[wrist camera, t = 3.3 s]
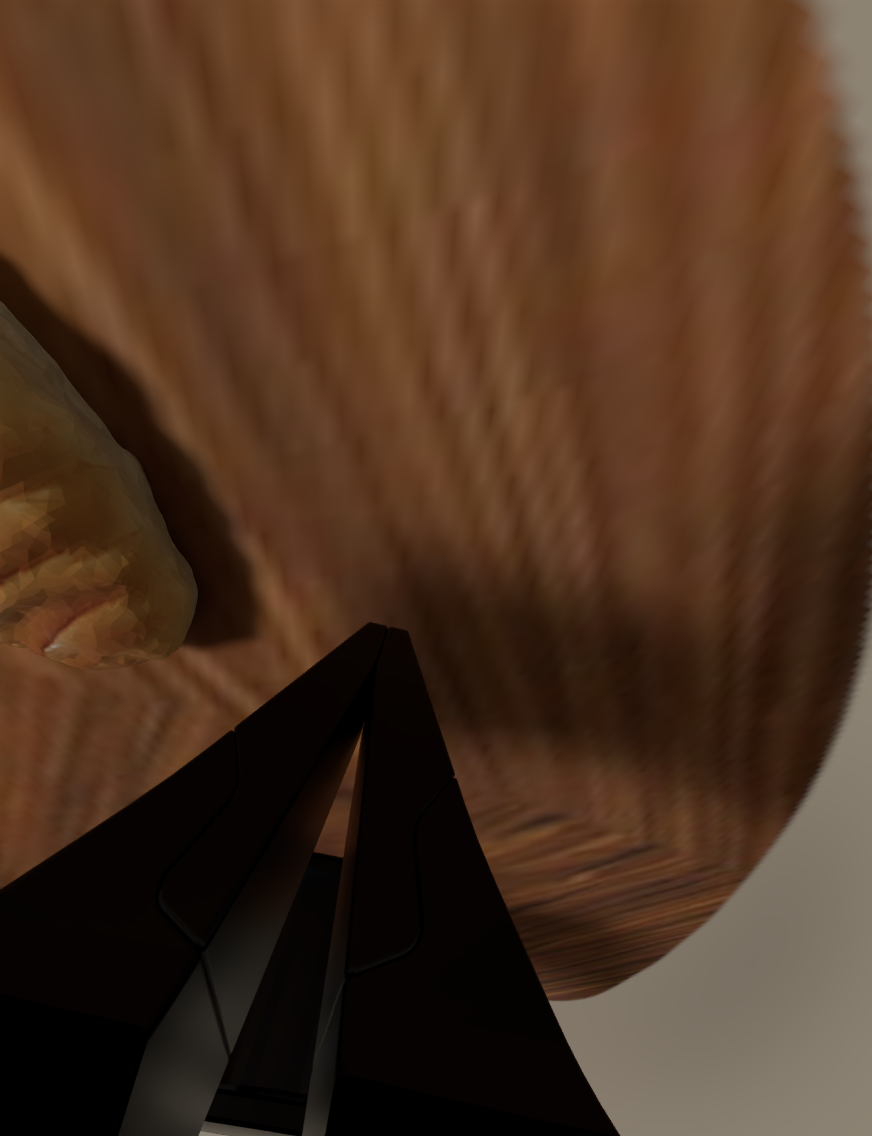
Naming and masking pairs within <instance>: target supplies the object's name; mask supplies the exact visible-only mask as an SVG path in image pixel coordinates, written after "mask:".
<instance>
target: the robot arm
mask: <svg viewBox="0 0 872 1136" xmlns="http://www.w3.org/2000/svg"><path fill="white" fill-rule="evenodd" d="M363 725H364V726H363ZM362 728H363V731H362ZM234 731H235V733H234ZM234 731H232V730H231V731H229V732H228V733H226V734H225V735H224V736H223V737H221V738H220V739H219V740H218V741H216V742H215V743H214V744H212V745H211V746H210V747H209V748H207V749H206V750H205V751H203V752H202V753H201V754H199V755H198V756H197V757H195V758H194V759H193V760H191V761H190V762H189V763H187V764H186V765H185V766H183V767H182V768H181V769H179V770H178V771H177V772H175V773H174V774H173V775H171V776H170V777H168V778H167V779H165V780H164V781H162V782H161V783H160V784H158V785H157V786H155V787H154V788H152V789H151V790H149V791H148V792H146V793H145V794H143V795H142V796H141V797H139V798H138V799H136V800H135V801H133V802H132V803H130V804H129V805H127V806H126V807H124V808H123V809H122V810H120V811H119V812H117V813H116V814H114V815H112V816H111V817H109V818H108V819H106V820H105V821H103V822H102V823H100V824H99V825H97V826H96V827H94V828H93V829H91V830H90V831H88V832H87V833H85V834H84V835H82V836H81V837H79V838H78V839H76V840H75V841H73V842H72V843H70V844H69V845H67V846H66V847H64V848H62V849H61V850H59V851H58V852H56V853H55V854H53V855H52V856H50V857H49V858H47V859H46V860H44V861H43V862H41V863H40V864H38V865H37V866H35V867H34V868H32V869H31V870H29V871H28V872H26V873H25V874H23V875H22V876H20V877H19V878H17V879H16V880H14V881H12V882H11V883H9V884H8V885H6V886H5V887H3V888H2V889H0V1136H198V1135H199V1133H200V1131H203V1132H210V1133H216V1134H222V1135H229V1136H620V1134H619V1133H618V1131H617V1130H616V1128H615V1127H614V1125H613V1123H612V1122H611V1120H610V1118H609V1117H608V1115H607V1114H606V1112H605V1110H604V1109H603V1108H602V1106H601V1104H600V1102H599V1101H598V1099H597V1097H596V1095H595V1093H594V1092H593V1090H592V1088H591V1086H590V1085H589V1083H588V1081H587V1079H586V1077H585V1076H584V1074H583V1072H582V1070H581V1068H580V1066H579V1064H578V1062H577V1060H576V1058H575V1056H574V1054H573V1052H572V1050H571V1048H570V1046H569V1044H568V1043H567V1040H566V1038H565V1036H564V1034H563V1032H562V1029H561V1027H560V1025H559V1023H558V1021H557V1019H556V1016H555V1014H554V1012H553V1010H552V1008H551V1006H550V1003H549V1001H548V999H547V996H546V994H545V992H544V990H543V987H542V985H541V983H540V981H539V978H538V976H537V974H536V972H535V969H534V967H533V965H532V963H531V960H530V958H529V956H528V954H527V951H526V949H525V947H524V945H523V942H522V940H521V938H520V936H519V934H518V931H517V929H516V927H515V925H514V922H513V920H512V918H511V916H510V913H509V911H508V909H507V907H506V904H505V902H504V900H503V898H502V895H501V893H500V891H499V889H498V886H497V884H496V882H495V879H494V877H493V875H492V872H491V870H490V867H489V865H488V863H487V860H486V858H485V855H484V853H483V851H482V848H481V846H480V844H479V841H478V839H477V836H476V833H475V830H474V827H473V825H472V822H471V819H470V816H469V814H468V811H467V808H466V805H465V802H464V799H463V796H462V793H461V790H460V787H459V784H458V781H457V779H456V778H454V776H455V773H454V770H453V767H452V764H451V761H450V758H449V755H448V751H447V748H446V745H445V742H444V739H443V736H442V733H441V730H440V727H439V724H438V721H437V718H436V715H435V712H434V709H433V706H432V703H431V700H430V697H429V694H428V691H427V688H426V685H425V681H424V678H423V675H422V672H421V669H420V666H419V663H418V660H417V657H416V654H415V651H414V648H413V645H412V642H411V639H410V636H409V633H408V631H406V630H403V629H399V628H394V627H390V628H389V629H388V628H387V626H385V625H381V624H377V623H373V622H369V623H367V624H366V625H365V626H363V627H362V628H361V629H360V630H358V631H357V632H356V633H354V634H353V635H352V636H351V637H349V638H348V639H347V640H345V641H344V642H343V643H342V644H340V645H339V646H338V647H337V648H335V649H334V650H333V651H331V652H330V653H329V654H328V655H326V656H325V657H324V658H323V659H321V660H320V661H319V662H317V663H316V664H315V665H314V666H312V667H311V668H310V669H308V670H307V671H306V672H305V673H303V674H302V675H301V676H300V677H298V678H297V679H296V680H294V681H293V682H292V683H291V684H289V685H288V686H287V687H286V688H284V689H283V690H282V691H280V692H279V693H278V694H277V695H275V696H274V697H273V698H271V699H270V700H269V701H268V702H266V703H265V704H264V705H263V706H261V707H260V708H259V709H257V710H256V711H255V712H254V713H252V714H251V715H250V716H248V717H247V718H246V719H245V720H243V721H242V722H241V723H240V724H238V725H237V726H236V727H235V729H234ZM361 732H362V737H361V742H360V749H359V755H358V762H357V769H356V776H355V782H354V789H353V796H352V803H351V809H350V816H349V823H348V830H347V836H346V843H345V850H344V857H343V863H337V862H332V861H327V860H322V859H317V858H312V857H311V856H312V854H313V851H314V849H315V846H316V844H317V841H318V839H319V836H320V834H321V831H322V829H323V826H324V824H325V821H326V819H327V817H328V814H329V812H330V809H331V807H332V804H333V802H334V799H335V797H336V794H337V792H338V789H339V787H340V784H341V782H342V780H343V777H344V775H345V772H346V770H347V767H348V765H349V762H350V760H351V757H352V755H353V752H354V750H355V747H356V745H357V742H358V740H359V737H360V734H361Z"/></svg>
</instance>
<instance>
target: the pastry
mask: <svg viewBox="0 0 872 1136" xmlns="http://www.w3.org/2000/svg"><path fill="white" fill-rule="evenodd" d="M197 599H198V589H197V585H196V582H195V579H194V576H193V572H192V569H191V567H190V565H189V564H188V562H187V561H186V560H185V558H184V557H183V556H182V555H181V553H180V552H179V551H178V550H177V548H176V547H175V545H174V544H173V542H172V540H171V538H170V535H169V533H168V530H167V526H166V523H165V521H164V518H163V516H162V515H161V513H160V511H159V509H158V507H157V505H156V503H155V501H154V498H153V494H152V490H151V487H150V484H149V481H148V479H147V476H146V474H145V472H144V470H143V468H142V466H141V464H140V463H139V461H138V460H137V458H136V457H135V456H134V455H133V454H131V453H130V452H128V451H127V450H125V449H123V448H122V447H121V446H120V445H119V444H118V443H117V442H116V441H115V440H114V438H113V437H112V435H111V434H110V432H109V430H108V429H107V427H106V425H105V424H104V423H103V421H102V420H101V419H100V418H99V417H98V415H97V414H96V413H95V412H94V411H93V410H92V409H91V408H90V406H89V405H88V404H87V403H86V402H85V400H84V399H83V398H82V397H81V395H80V394H79V393H78V392H77V390H76V389H75V388H74V387H73V385H72V384H71V383H70V382H69V380H68V379H67V378H66V376H65V374H64V373H63V371H62V370H61V368H60V367H59V366H58V364H57V363H56V361H55V360H54V359H53V358H52V357H51V356H50V355H49V354H48V353H47V352H46V351H45V350H44V349H43V348H42V346H41V345H40V344H39V343H38V342H37V340H36V339H35V338H34V337H33V336H32V335H31V334H30V333H29V332H28V331H27V329H26V328H25V327H24V326H23V325H22V324H21V323H20V322H19V321H18V320H17V319H16V318H15V317H14V315H13V314H12V313H11V312H10V311H9V309H8V308H7V307H6V306H5V305H4V304H3V303H2V302H1V301H0V644H7V645H11V646H15V647H22V648H27V649H29V650H30V651H32V652H33V653H35V654H38V655H41V656H44V657H47V658H51V659H54V660H58V661H61V662H63V663H65V664H67V665H70V666H73V667H76V668H81V669H94V670H100V669H117V668H121V667H126V666H130V665H134V664H138V663H142V662H145V661H147V660H150V659H155V660H156V659H162V658H165V657H167V656H169V655H170V654H172V653H173V652H175V651H176V650H177V649H178V648H179V647H180V646H181V644H182V643H183V641H184V639H185V637H186V634H187V631H188V629H189V627H190V625H191V622H192V619H193V616H194V613H195V609H196V604H197Z"/></svg>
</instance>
